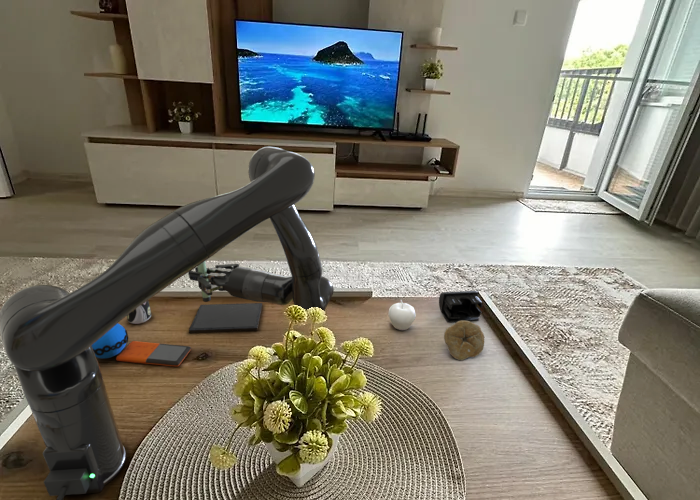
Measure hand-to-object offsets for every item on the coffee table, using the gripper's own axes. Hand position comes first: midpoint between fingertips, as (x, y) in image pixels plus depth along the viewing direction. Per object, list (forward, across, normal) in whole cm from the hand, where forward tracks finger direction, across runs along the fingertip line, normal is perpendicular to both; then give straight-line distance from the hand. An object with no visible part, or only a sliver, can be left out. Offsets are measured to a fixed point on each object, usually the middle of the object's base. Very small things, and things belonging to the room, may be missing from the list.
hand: (193, 272), depth 101 cm
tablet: (-7, -2, +14) cm, 16 cm away
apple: (-52, -15, +14) cm, 56 cm away
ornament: (+9, +20, +14) cm, 26 cm away
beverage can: (+14, +6, +14) cm, 21 cm away
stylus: (-3, 0, +8) cm, 8 cm away
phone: (0, +17, +14) cm, 22 cm away
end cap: (-66, -26, +14) cm, 72 cm away
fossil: (-68, -10, +14) cm, 70 cm away
